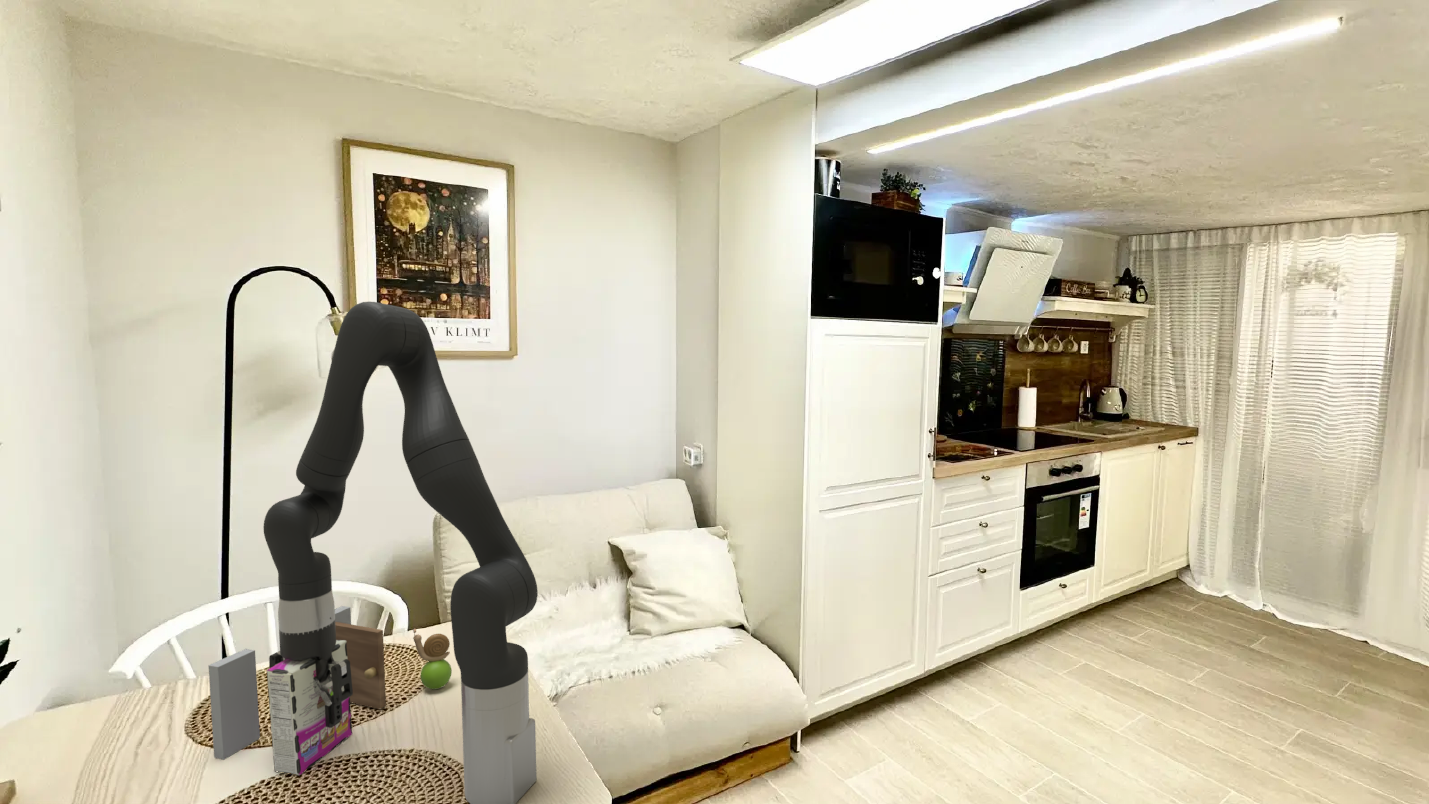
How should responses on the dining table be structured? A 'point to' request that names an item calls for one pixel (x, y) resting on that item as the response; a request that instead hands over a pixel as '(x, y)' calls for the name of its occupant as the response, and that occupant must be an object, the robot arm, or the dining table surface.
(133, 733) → the dining table surface
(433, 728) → the dining table surface
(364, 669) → the door
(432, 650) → the snail figurine
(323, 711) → the candy bar box
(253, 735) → the door frame
